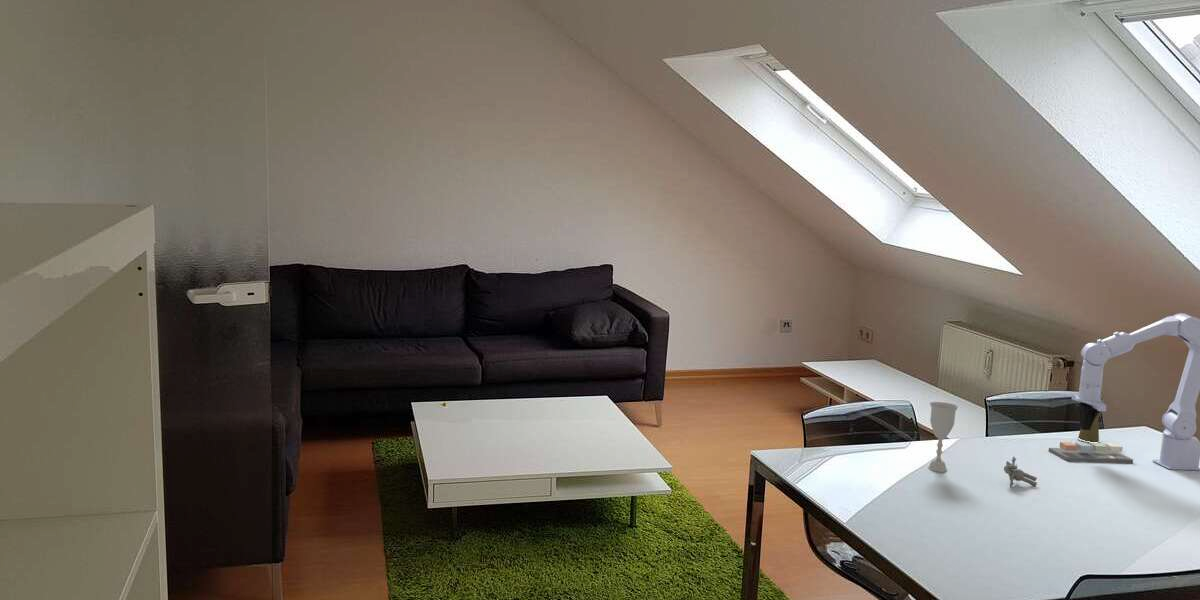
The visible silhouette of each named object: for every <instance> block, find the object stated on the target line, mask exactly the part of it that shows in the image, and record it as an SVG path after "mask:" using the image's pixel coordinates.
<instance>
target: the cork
mask: <svg viewBox="0 0 1200 600" xmlns="http://www.w3.org/2000/svg"><path fill="white" fill-rule="evenodd" d="M1101 415H1102V411H1100V412H1099V414H1098V415H1097V416H1096V418H1095V419H1094V421H1093V424H1092V426H1091V429H1090V430H1083V429H1081V428H1080V430H1079V434H1078V437H1077V439H1078V438H1080V439H1082V440H1085V441H1090V442H1098V441H1099V442H1100V432H1099V431H1100V429H1099V428H1100V427H1099V426H1100V425H1099V419H1100V417H1101Z"/></svg>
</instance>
